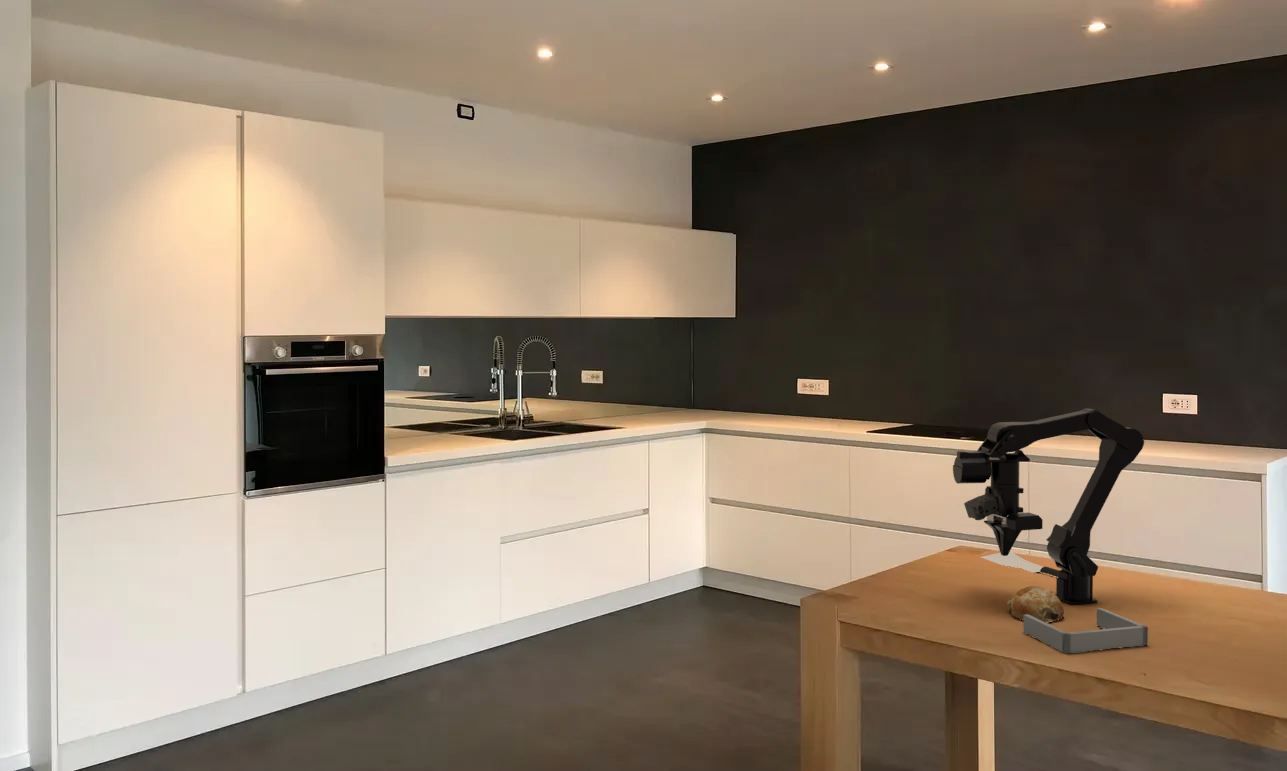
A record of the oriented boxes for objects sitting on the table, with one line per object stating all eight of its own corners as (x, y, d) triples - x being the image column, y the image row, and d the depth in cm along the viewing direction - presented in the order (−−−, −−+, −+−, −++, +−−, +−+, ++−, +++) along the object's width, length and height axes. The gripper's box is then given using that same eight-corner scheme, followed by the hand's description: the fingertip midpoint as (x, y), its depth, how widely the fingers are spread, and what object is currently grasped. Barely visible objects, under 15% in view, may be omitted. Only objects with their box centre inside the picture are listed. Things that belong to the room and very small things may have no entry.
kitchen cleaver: (973, 555, 258) (1007, 547, 261) (974, 562, 258) (1008, 554, 261) (1054, 585, 228) (1092, 577, 231) (1055, 593, 228) (1093, 584, 231)
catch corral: (1100, 625, 200) (1101, 607, 200) (1147, 645, 187) (1147, 627, 187) (1023, 632, 196) (1023, 614, 196) (1065, 653, 183) (1065, 634, 183)
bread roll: (1029, 642, 202) (1044, 610, 198) (993, 609, 210) (1006, 578, 206) (1064, 634, 206) (1079, 603, 203) (1028, 602, 214) (1041, 571, 211)
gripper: (947, 478, 223) (947, 548, 224) (995, 491, 205) (994, 568, 206) (993, 475, 226) (993, 545, 227) (1044, 488, 207) (1043, 564, 208)
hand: (1004, 555), depth 217 cm, fingers closed
